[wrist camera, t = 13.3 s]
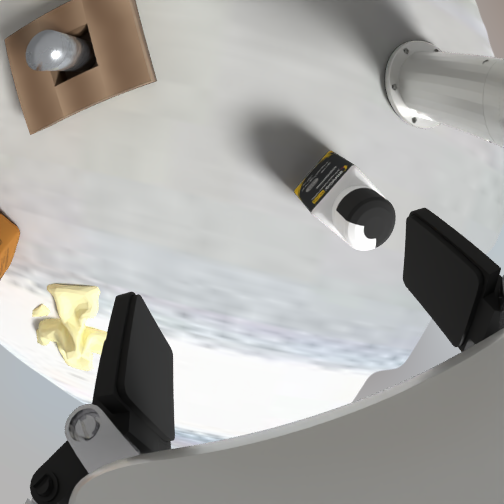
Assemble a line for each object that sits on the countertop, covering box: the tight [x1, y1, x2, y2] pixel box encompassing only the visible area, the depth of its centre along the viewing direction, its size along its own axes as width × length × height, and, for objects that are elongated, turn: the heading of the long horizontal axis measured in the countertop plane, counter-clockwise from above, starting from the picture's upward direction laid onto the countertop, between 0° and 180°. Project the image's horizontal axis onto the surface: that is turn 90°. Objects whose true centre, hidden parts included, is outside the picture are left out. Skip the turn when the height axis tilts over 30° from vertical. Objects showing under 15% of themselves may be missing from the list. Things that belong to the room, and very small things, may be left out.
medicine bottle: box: [294, 151, 395, 251], centre depth 35 cm, size 7×7×12 cm
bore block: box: [5, 0, 157, 135], centre depth 24 cm, size 14×12×5 cm
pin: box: [26, 30, 96, 72], centre depth 21 cm, size 4×4×10 cm
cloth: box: [32, 284, 107, 371], centre depth 43 cm, size 22×19×6 cm
